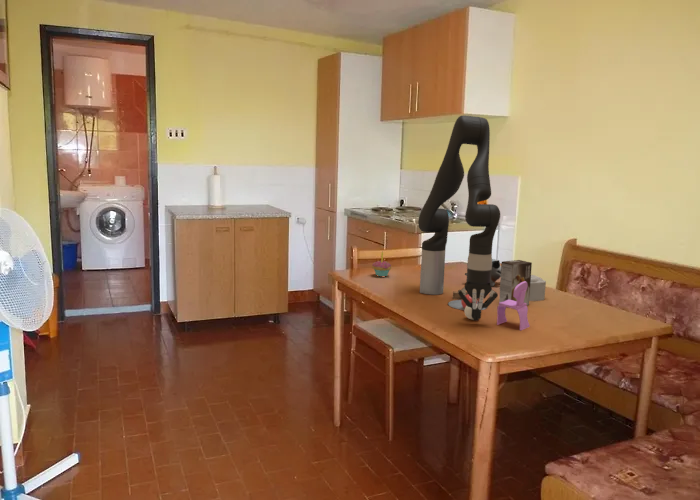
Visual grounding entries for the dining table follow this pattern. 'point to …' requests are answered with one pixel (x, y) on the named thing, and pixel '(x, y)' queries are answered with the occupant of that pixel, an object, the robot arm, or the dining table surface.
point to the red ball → (468, 299)
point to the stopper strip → (457, 296)
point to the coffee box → (514, 279)
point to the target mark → (458, 304)
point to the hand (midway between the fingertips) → (476, 319)
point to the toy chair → (515, 306)
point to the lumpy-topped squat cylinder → (537, 288)
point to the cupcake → (381, 267)
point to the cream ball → (469, 312)
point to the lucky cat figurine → (494, 271)
